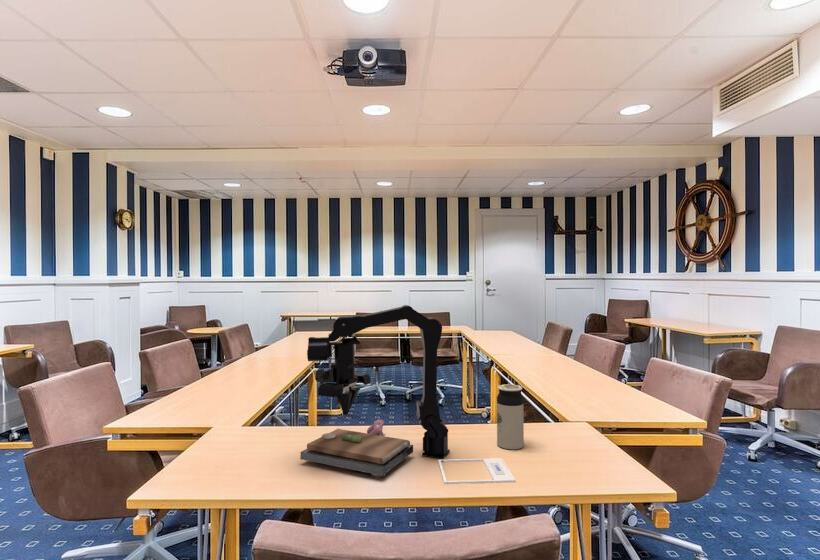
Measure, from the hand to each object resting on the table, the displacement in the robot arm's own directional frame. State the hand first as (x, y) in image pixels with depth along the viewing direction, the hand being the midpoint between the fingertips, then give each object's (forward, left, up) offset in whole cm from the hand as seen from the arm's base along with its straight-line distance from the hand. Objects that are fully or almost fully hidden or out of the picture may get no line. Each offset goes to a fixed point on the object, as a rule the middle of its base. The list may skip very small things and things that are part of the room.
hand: (345, 414), depth 132 cm
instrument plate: (-4, 0, -9) cm, 10 cm away
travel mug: (-40, -30, -13) cm, 52 cm away
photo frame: (-36, -7, -13) cm, 39 cm away
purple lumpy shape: (+1, -18, -13) cm, 22 cm away
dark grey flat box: (-4, 0, -13) cm, 13 cm away
